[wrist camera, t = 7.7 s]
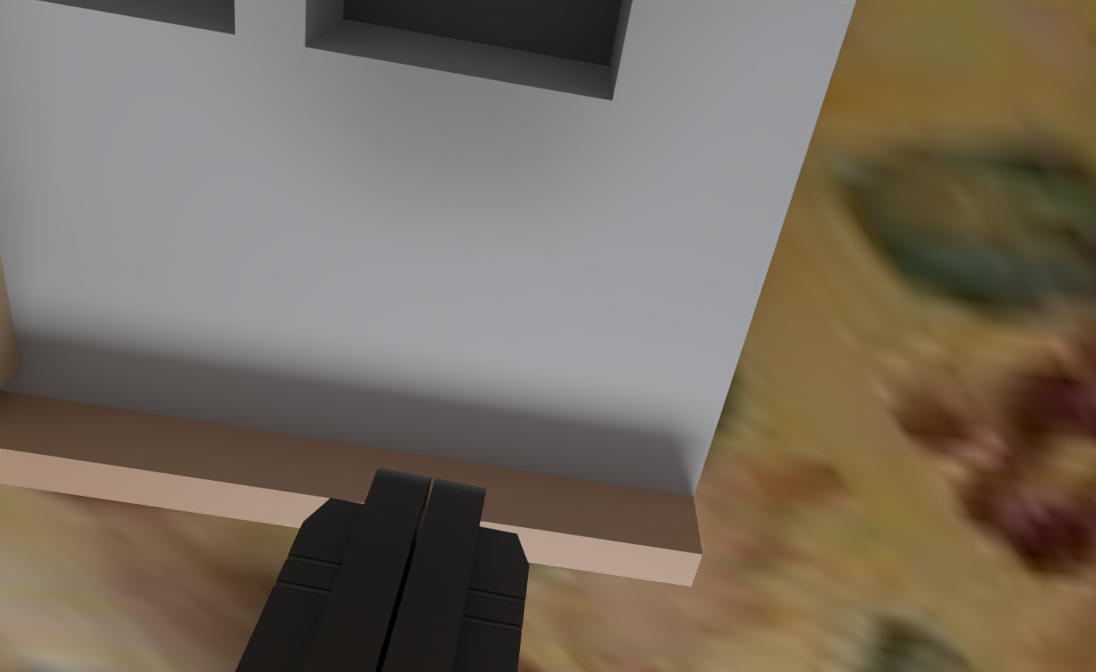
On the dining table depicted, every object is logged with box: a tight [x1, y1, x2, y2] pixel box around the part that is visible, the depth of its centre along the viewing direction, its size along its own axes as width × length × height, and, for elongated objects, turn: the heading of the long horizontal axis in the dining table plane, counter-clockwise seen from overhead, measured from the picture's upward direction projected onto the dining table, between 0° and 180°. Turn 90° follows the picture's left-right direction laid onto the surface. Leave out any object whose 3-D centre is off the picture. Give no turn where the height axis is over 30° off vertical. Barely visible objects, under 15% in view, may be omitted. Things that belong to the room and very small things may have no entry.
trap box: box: [0, 0, 856, 586], centre depth 13 cm, size 18×14×4 cm
